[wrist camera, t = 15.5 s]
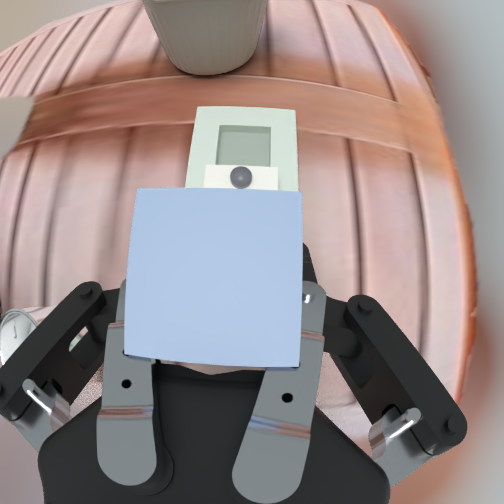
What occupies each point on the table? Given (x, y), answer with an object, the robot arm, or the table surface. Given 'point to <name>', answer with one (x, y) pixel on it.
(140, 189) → the peg
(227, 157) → the board
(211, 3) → the canister
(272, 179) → the lid
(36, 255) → the table surface
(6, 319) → the beer glass
